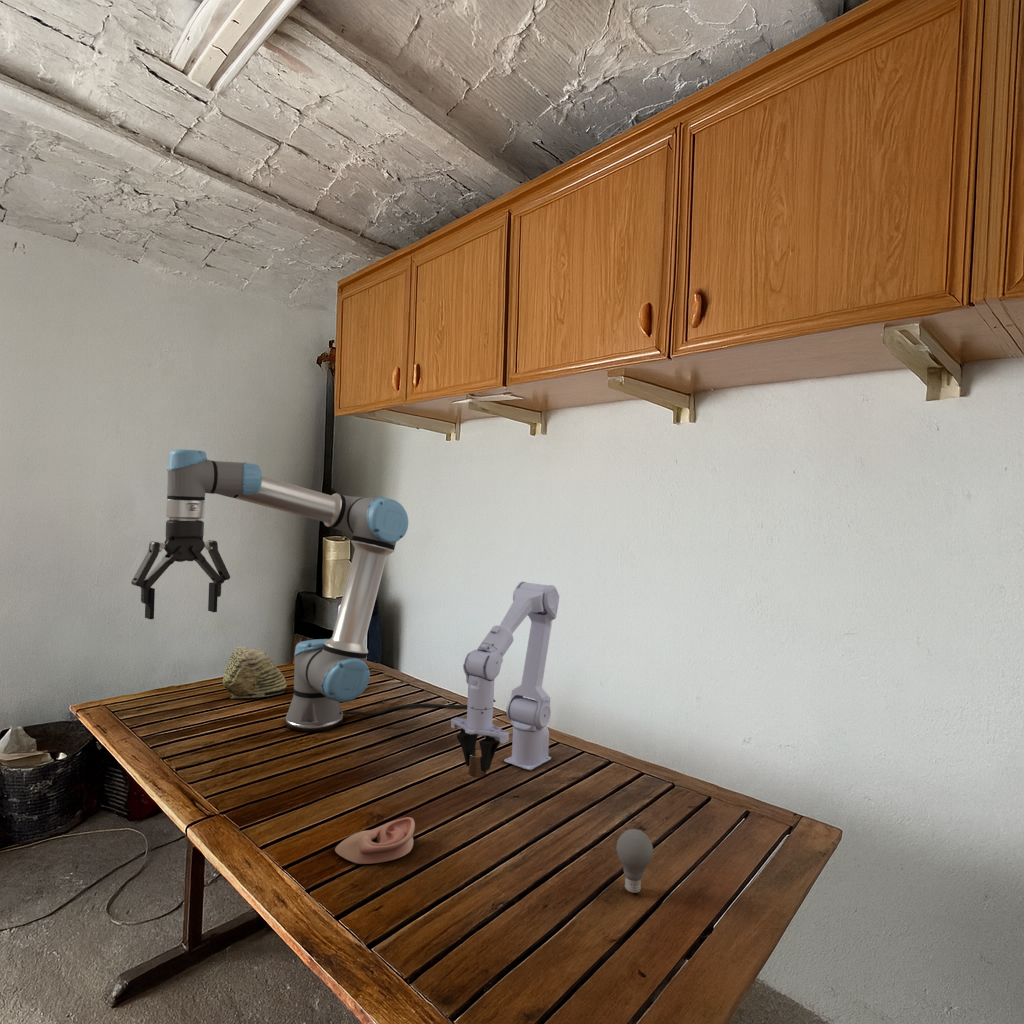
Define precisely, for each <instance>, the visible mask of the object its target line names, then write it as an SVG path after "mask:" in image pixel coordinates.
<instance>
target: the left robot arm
mask: <svg viewBox="0 0 1024 1024" xmlns="http://www.w3.org/2000/svg"><path fill="white" fill-rule="evenodd" d="M166 471H167V486H166V487H167V489H166V491H167V492H166V508H165V509H166V510H165V516H166V518H168V519H167V520H166V521H165V541H164V542H159V541H150V542H149V543H148V550H147V553H146V554H145V556H144V558H143V560H142V562H141V563H140V565H139V567H138V568H137V571H136V572H135V574H134V576H133V578H132V579H131V582H130V584H131V585H133V586H135V587H139V588H140V602H141V603H142V604H144V618H145V619H147V620H154V619H155V601H156V600H155V599H156V597H155V596H156V588H154V587H152V586H153V585H154V584H155V583H156V582H157V581H158V580H159V579H160V577H161V576H162V575H163V574H164V573H165V572H166V570H167V569H169V567H170V566H171V565H173V564H174V563H175V562H177V563H183V562H194V561H195V563H197V564H198V566H199V567H200V568H201V569H202V571H204V573H205V574H206V575H207V576H208V578H210V580H211V582H208V602H207V603H208V604H207V611H208V612H211V613H217V612H218V598H220V597H221V596H222V585H223V584H224V583H225V581H228V580H230V579H231V575H230V573H229V570H228V569H227V567H226V564H225V562H224V560H223V558H222V555H221V554H220V551H219V545H218V541H217V540H212V539H208V540H207V541H204V536H205V535H204V534H205V533H204V532H205V521H203V520H202V519H204V518H205V508H206V507H205V503H206V502H205V500H206V494H209V495H211V494H213V495H215V494H216V495H220V496H224V497H227V498H232V499H236V500H239V501H243V502H247V503H251V504H255V505H259V506H263V507H266V508H270V509H274V510H278V511H282V512H285V513H290V514H293V515H297V516H301V517H305V518H308V519H312V520H315V521H320V522H323V524H324V526H325V527H327V528H332V529H335V530H338V531H341V532H343V533H346V534H349V535H351V536H352V537H351V541H350V542H351V544H352V546H353V547H354V551H353V555H352V559H351V564H350V567H349V571H348V576H347V579H346V583H345V586H344V590H343V594H342V597H341V602H340V605H339V609H338V613H337V616H336V620H335V624H334V628H333V632H332V636H331V637H330V638H323V639H322V638H319V639H308V640H303V641H299V642H297V644H296V645H295V650H294V655H293V656H294V672H293V695H292V696H293V697H292V699H291V702H290V703H289V705H288V706H289V707H288V711H287V713H286V715H285V726H286V728H287V729H289V730H291V731H294V732H295V731H296V732H301V733H316V732H325V731H329V730H332V729H335V728H337V727H339V726H340V725H342V723H343V722H344V715H358V716H377V715H381V714H384V713H387V712H390V711H394V710H398V709H399V710H400V709H406V708H417V707H431V708H451V709H452V708H456V709H467V704H441V703H409V704H402V705H393V706H389V707H387V708H385V709H381V710H378V711H371V712H370V711H369V712H368V711H355V710H350V711H349V710H343V709H342V706H341V703H348V702H351V701H354V700H355V699H357V698H358V697H359V696H361V695H362V694H363V693H364V692H365V691H366V689H367V688H368V685H369V683H370V679H371V673H370V668H369V666H368V665H367V659H368V655H369V650H368V648H367V646H366V645H365V642H366V639H367V635H368V631H369V627H370V623H371V619H372V615H373V611H374V607H375V603H376V600H377V596H378V593H379V588H380V584H381V580H382V576H383V572H384V568H385V565H386V561H387V557H388V556H389V555H390V554H392V553H394V552H395V548H396V544H397V542H399V541H400V540H401V539H403V538H404V536H405V535H406V534H407V531H408V529H409V517H408V513H407V511H406V509H405V507H404V506H403V505H402V504H401V503H400V502H399V501H398V500H395V499H392V498H388V497H383V496H380V497H370V496H350V495H344V494H340V493H337V492H336V493H333V494H327V493H324V492H322V491H321V492H320V491H318V490H313V489H309V488H307V487H303V486H300V485H296V484H293V483H289V482H286V481H282V480H279V479H276V478H272V477H269V476H265V475H263V473H262V469H261V467H260V466H259V465H258V464H256V463H250V462H241V461H240V462H239V461H221V460H212V459H208V457H207V452H206V451H204V450H196V449H183V448H177V449H172V450H170V451H169V454H168V462H167V468H166ZM163 549H164V551H165V552H166V553H165V554H164V555H163V556H162V558H161V560H160V561H159V562H158V563H157V565H156V566H154V564H155V562H156V560H157V558H158V557H159V553H161V552H162V550H163ZM204 549H205V550H206V551H207V552H208V555H209V557H210V559H211V561H212V563H213V565H214V567H215V569H214V567H213V566H212V565H211V564H210V563H209V561H208V560H207V558H206V557H205V555H203V553H202V552H203V550H204ZM153 566H154V568H153V569H152V567H153ZM493 703H496V700H495V699H494V702H493Z"/></svg>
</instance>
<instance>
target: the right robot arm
mask: <svg viewBox="0 0 1024 1024" xmlns="http://www.w3.org/2000/svg"><path fill="white" fill-rule="evenodd" d="M559 602H560V594H559V592H558V589H557V587H556V586H555V585H553V584H540V583H534V582H532V583H531V582H526V581H520V582H519V583H517V585H516V586H515V589H514V590H513V592H512V603H511V605H510V607H509V608H508V610H507V612H506V613H505V616H504V617H503V618H502V620H501V622H500V624H499V625H493V626H492V628H491V629H490V630H489V632H488V633H487V634H486V636H485V638H484V639H483V640H482V641H481V643H480V644H479V646H478V647H477V649H474V650H472V651H470V652H468V653H467V654H466V657H465V659H464V663H463V664H462V669H463V673H464V674H465V682H466V684H467V701H466V702H467V704H466V705H467V708H466V718H462V717H459V716H456V717H453V718H451V719H450V728H451V729H454V730H455V729H459V730H460V731H459V733H457V734H456V739H457V741H458V742H459V744H460V747H461V750H462V754H463V758H464V762H465V766H466V767H469V753H470V752H471V751H474V750H476V745H477V741H478V743H479V747H480V748H479V749H480V750H481V755H482V764H481V767H482V771H483V772H485V771H486V772H487V771H489V770H490V769H491V767H492V763H493V759H494V756H495V753H496V751H497V749H498V747H499V746H500V744H502V745H503V744H507V743H508V742H509V741H510V732H509V731H506V730H504V729H502V728H500V727H499V726H497V725H495V724H493V722H494V719H493V718H494V703H495V702H494V700H495V698H494V697H495V679H496V678H497V677H498V676H499V675H500V672H501V668H502V664H503V662H504V656H505V654H506V653H507V652H508V650H509V648H510V647H511V646H512V644H513V643H514V635H513V634H514V632H516V630H517V629H518V628H519V626H520V625H521V624H522V623H523V622H524V620H525V619H526V618H527V617H528V618H529V620H530V628H529V634H528V641H527V647H526V653H525V659H524V665H523V671H522V677H521V683H520V685H518V686H516V687H515V688H513V689H512V690H511V694H510V697H509V700H508V701H507V704H506V708H505V709H506V711H505V712H506V718H507V720H509V721H510V725H511V726H512V743H511V756H508V757H507V758H504V762H505V763H507V764H510V765H512V766H515V767H518V768H521V769H524V770H526V771H533V770H534V769H536V768H537V767H540V766H541V765H544V764H545V763H547V762H549V761H551V760H552V756H550V755H549V752H550V751H549V750H550V749H549V748H550V730H549V728H548V726H547V725H548V724H549V722H550V719H551V699H552V698H551V696H550V695H549V694H548V693H547V692H546V690H545V689H544V688H543V682H544V678H545V677H544V675H545V671H546V670H545V669H546V663H547V657H548V651H549V645H550V639H551V638H550V637H551V632H552V625H553V620H556V619H557V615H558V609H559ZM479 736H481V737H485V738H483V739H481V740H478V737H479Z"/></svg>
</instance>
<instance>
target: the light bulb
mask: <svg viewBox="0 0 1024 1024" xmlns="http://www.w3.org/2000/svg"><path fill="white" fill-rule="evenodd" d="M615 849H616V854H617V857H618V859H619V861H620V863H621V865H622V867H623V873H624V874H623V875H624V876H625V878H624V888H625V890H627V891H628V892H630V893H634V894H635V893H639V892H640V891H641V889H642V887H641V886H642V879H643V877H644V875H645V871H646V868H647V867H648V866H649V864H650V863H651V861H652V859H653V855H654V847H653V843H652V841H651V838H649V836H648V835H647V834H646V833H645V832H643V831H642V830H641V829H636V828H629V829H627V830H625V831H623V832H622V833H621V834H620V835H619V837H618V839H617V841H616V847H615Z"/></svg>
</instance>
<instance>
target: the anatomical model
mask: <svg viewBox="0 0 1024 1024" xmlns="http://www.w3.org/2000/svg"><path fill="white" fill-rule="evenodd" d="M415 828H416V823H415V820H414V818H413V817H410V816H409V817H402V818H398V819H395V820H392V821H389V822H386V823H384V824H382V825H380V826H377V827H375V828H372V829H368V830H361V831H358V832H356V833H353V834H352V835H350V836H348V837H346V838H345V839H343V840H342V841H340V843H338V844H337V845H336V846H335V848H334V852H335V853H336V854H337V855H338V856H340V857H341V858H343V859H344V860H347V861H348V862H351V863H353V864H357V865H369V864H370V865H371V864H380V863H385V862H390V861H394V860H398V859H400V858H402V857H404V856H407V855H408V854H409V853H410V852H411V851H412V849H413V847H414V837H413V835H414V833H415Z"/></svg>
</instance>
